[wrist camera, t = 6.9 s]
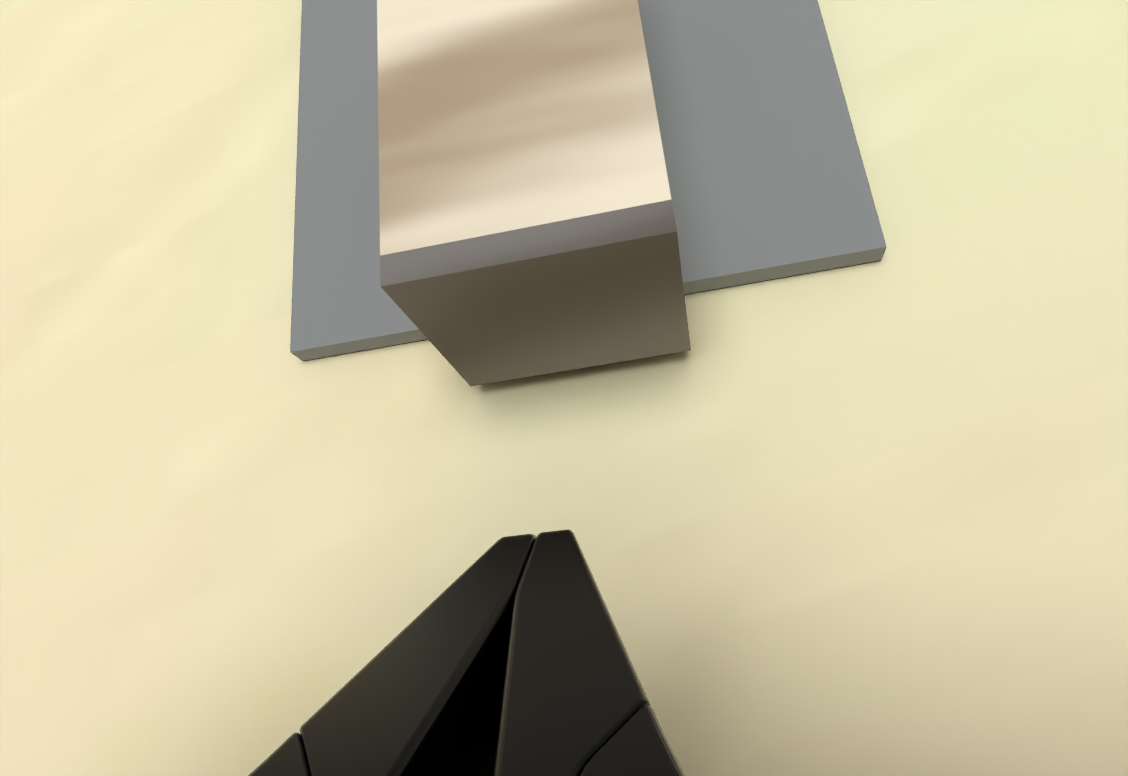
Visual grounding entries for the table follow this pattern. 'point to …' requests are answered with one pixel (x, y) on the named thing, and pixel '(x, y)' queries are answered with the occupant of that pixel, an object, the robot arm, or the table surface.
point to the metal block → (525, 185)
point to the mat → (690, 145)
